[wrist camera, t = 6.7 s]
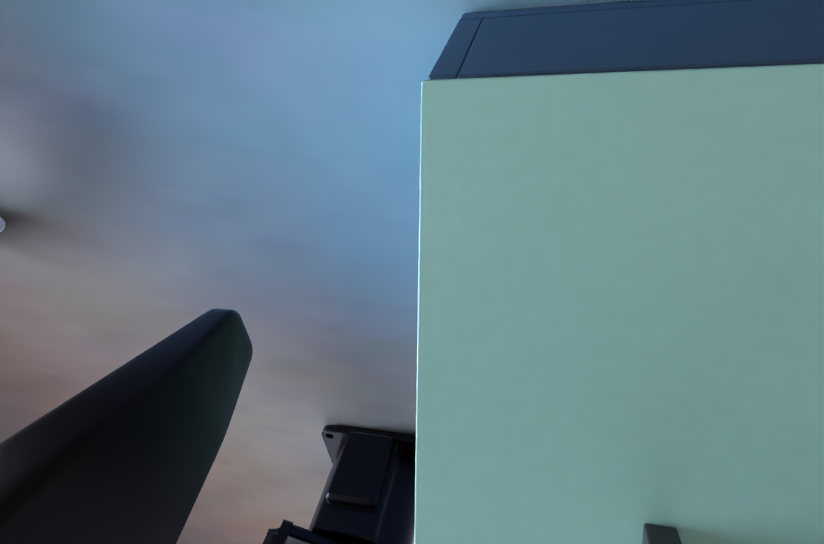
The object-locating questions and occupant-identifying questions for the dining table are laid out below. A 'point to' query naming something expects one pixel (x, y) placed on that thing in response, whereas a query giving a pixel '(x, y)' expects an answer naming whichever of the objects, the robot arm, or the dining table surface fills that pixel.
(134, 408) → the robot arm
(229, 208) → the dining table surface
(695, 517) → the lunchbox lid
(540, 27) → the lunchbox
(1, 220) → the spoon rest
